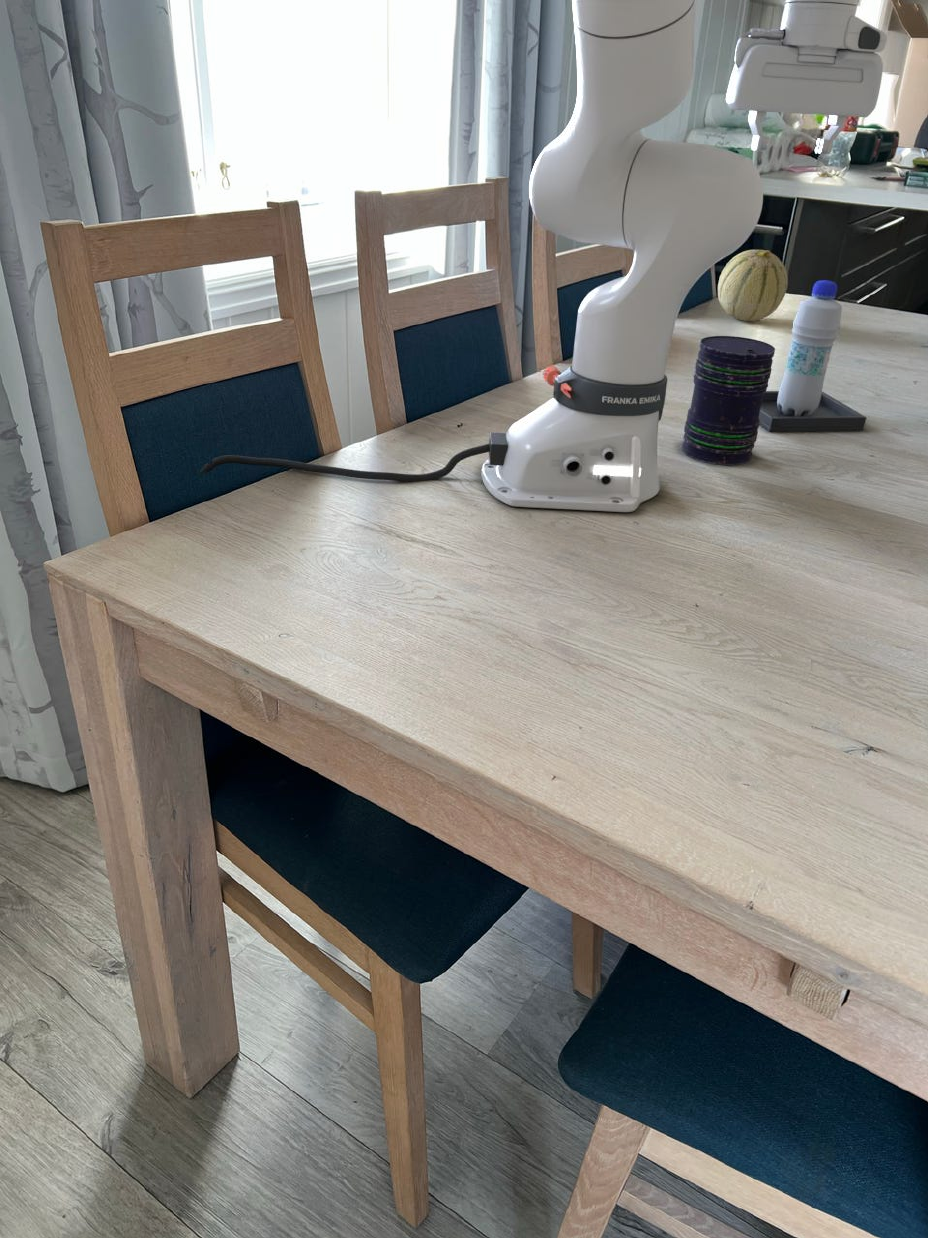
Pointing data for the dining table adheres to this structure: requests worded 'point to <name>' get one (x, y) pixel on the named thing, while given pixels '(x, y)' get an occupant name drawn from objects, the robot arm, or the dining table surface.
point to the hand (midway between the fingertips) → (790, 152)
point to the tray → (823, 419)
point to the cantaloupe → (752, 285)
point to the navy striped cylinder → (727, 399)
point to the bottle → (810, 350)
